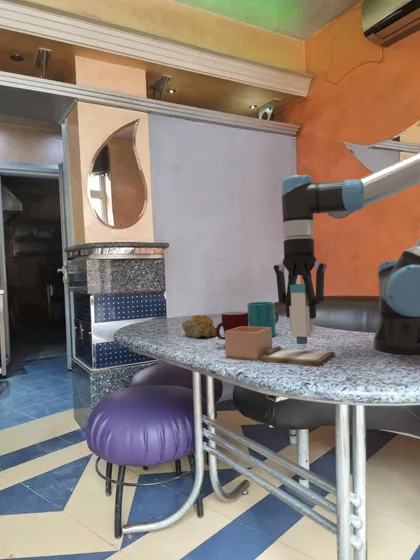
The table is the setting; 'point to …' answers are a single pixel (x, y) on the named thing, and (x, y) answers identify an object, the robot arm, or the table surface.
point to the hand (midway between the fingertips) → (301, 330)
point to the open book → (296, 356)
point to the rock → (199, 326)
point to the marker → (299, 312)
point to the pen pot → (248, 342)
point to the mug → (232, 321)
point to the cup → (262, 315)
